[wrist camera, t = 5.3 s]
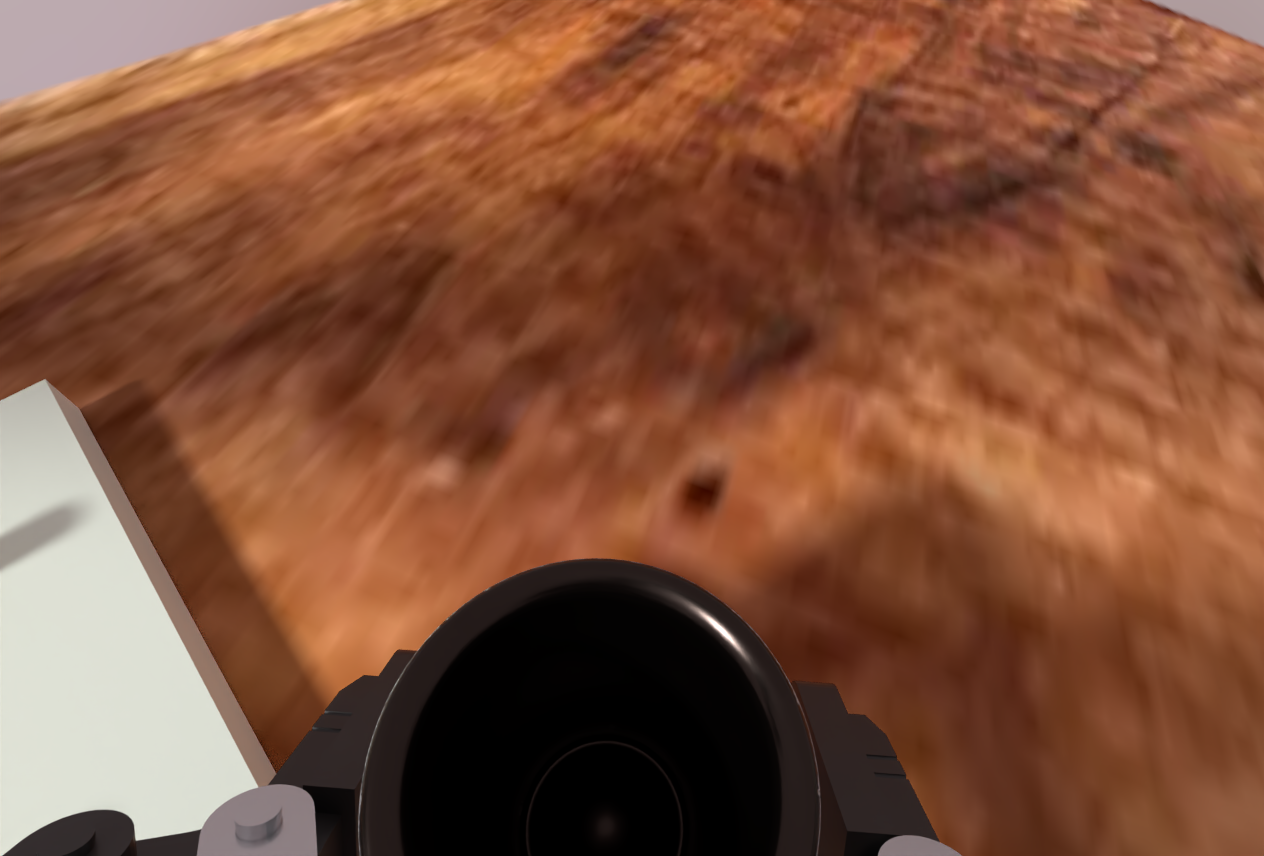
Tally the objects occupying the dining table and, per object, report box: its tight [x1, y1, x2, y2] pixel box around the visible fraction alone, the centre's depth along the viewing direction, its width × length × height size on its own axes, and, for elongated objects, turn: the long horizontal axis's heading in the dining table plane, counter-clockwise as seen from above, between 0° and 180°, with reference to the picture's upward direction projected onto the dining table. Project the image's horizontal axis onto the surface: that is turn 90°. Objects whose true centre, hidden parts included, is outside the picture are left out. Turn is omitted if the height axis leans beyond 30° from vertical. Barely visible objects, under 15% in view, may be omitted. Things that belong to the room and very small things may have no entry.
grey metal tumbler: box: [358, 558, 821, 856], centre depth 11 cm, size 4×4×10 cm
